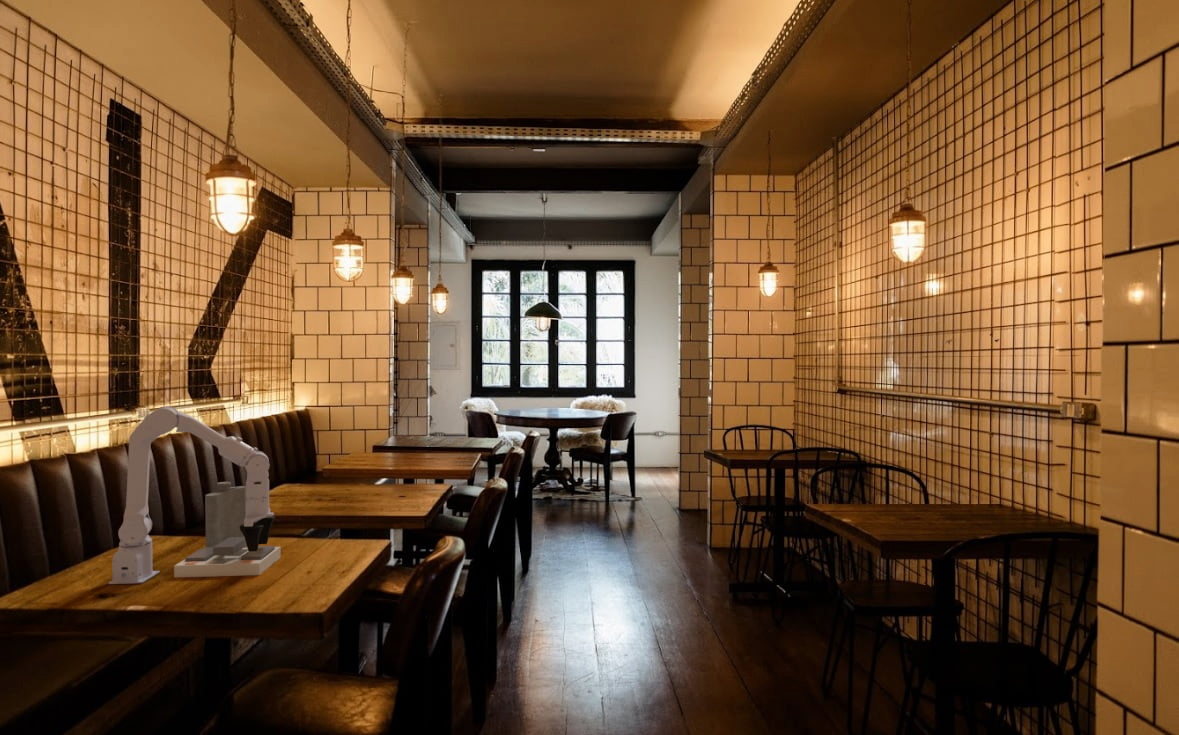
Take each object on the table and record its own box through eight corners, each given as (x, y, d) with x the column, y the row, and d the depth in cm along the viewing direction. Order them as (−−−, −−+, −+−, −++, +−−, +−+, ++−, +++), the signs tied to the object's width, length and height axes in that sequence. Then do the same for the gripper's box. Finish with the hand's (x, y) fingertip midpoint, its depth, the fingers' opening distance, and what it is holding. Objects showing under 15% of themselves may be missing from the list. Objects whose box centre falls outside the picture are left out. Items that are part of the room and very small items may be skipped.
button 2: (260, 564, 196) (260, 556, 196) (241, 564, 196) (240, 556, 196) (274, 553, 207) (274, 545, 207) (255, 553, 207) (255, 546, 207)
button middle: (233, 555, 196) (232, 546, 196) (213, 555, 195) (213, 547, 195) (248, 544, 207) (248, 536, 207) (229, 545, 206) (229, 537, 206)
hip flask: (213, 558, 209) (212, 487, 209) (200, 557, 210) (199, 486, 210) (248, 544, 225) (248, 478, 225) (236, 543, 226) (235, 477, 225)
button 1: (205, 565, 195) (205, 557, 195) (185, 566, 195) (185, 558, 195) (222, 554, 206) (222, 546, 206) (203, 555, 206) (203, 547, 206)
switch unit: (259, 574, 193) (259, 562, 193) (174, 577, 191) (174, 564, 191) (280, 557, 210) (280, 546, 210) (202, 559, 208) (202, 548, 208)
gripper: (263, 502, 195) (264, 554, 195) (281, 492, 209) (281, 540, 209) (235, 502, 194) (236, 554, 194) (255, 492, 208) (255, 541, 209)
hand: (257, 547), depth 202 cm, fingers open, 7 cm apart
